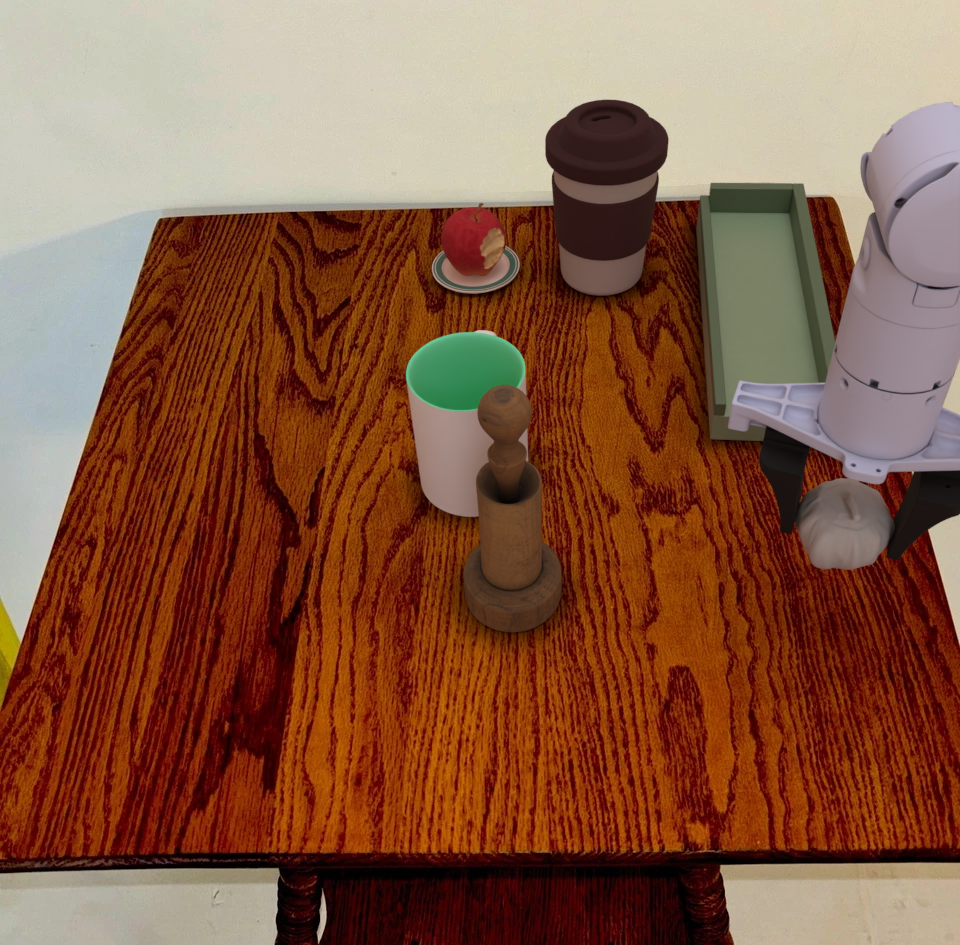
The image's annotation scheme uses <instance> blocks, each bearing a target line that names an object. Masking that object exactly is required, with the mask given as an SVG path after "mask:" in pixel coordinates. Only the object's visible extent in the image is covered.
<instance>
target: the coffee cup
mask: <svg viewBox="0 0 960 945" xmlns="http://www.w3.org/2000/svg"><path fill="white" fill-rule="evenodd" d="M669 141H670V140H669V134H668V132H667V130H666V129H665V127H664V125H662V124H661V123H660V122H659V121H658V120H656V119H655V118H654V117H651V116H650V115H649V113H648V112H647V111H646V110H645V109H644V108H643V107H641V106H639V105H638V104H635V103H633V102H629V101H625V100H619V99H596V100H591V101H587V102H584V103H581V104H579V105H577V106H575V107H573V108H572V109H571V110H570V111H569V112H568V113H567V114H566V115H565V116H563V117H562V118H560V119H558V120H557V121H555V123H553V124H552V125H551V126H550V127H549V129H548V130H547V132H546V135H545V138H544V142H545V143H544V148H545V149H544V150H545V151H544V152H545V160H546V162H547V164H548V166H549V167H550V168H551V170H552V174H551V190H552V201H553V202H552V204H553V216H554V228H555V237H556V240H557V241H558V246H559V247H558V250H559V261H560V272H561V275H562V278H563V280H564V281H565V283H566V284H567V285H568V286H570V287H571V288H572V289H574V290H576V291H578V292H580V293H582V294H587V295H591V296H613V295H617V294H620V293H624V292H626V291H627V290H629V289H631V288H633V287H634V286H635V285H636V284H637V283H638V282H639V280H640V279H641V277H642V273H643V269H644V262H645V256H646V249H647V245H648V243H649V240H650V237H651V233H652V227H653V221H654V214H655V208H656V201H657V197H658V196H657V194H658V188H659V184H660V176H659V170H660V169H662V167H663V166H664V164H665V163H666V160H667V157H668V152H669V151H668V150H669Z"/></svg>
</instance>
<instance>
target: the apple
mask: <svg viewBox="0 0 960 945" xmlns="http://www.w3.org/2000/svg"><path fill="white" fill-rule="evenodd" d="M484 204H485V203H483V202H480V203H478V207H477V206H471V207H464V208H461V209H459V210H456V211H455V212H454V213H452V214H451V215H450V216H449V217H448V218H447V220H446V221H445V223H444V225H443V227H442V230H441V238H440V239H441V248H442V251H441V252H439V253H438V254H437V255H436V256H435V258H434V259H433V262H432V265H431V272H432V276H433V277H434V280H435V281H436V282H437V283H438V284H439V285H441V286H442V287H444V288H445V289H448V290H451V291H453V292H456V293H461V294H483V293H484V294H485V293H489V292H493V291H497V290H498V289H501V288H503V287H505V286H507V285H508V284H510V283H511V282H512V281H513V280H514V279H515V278H516V276H517V275H518V273H519V270H520V259H519V257H518V254H516V252H515V251H514V250H513V249H512V248H510V247H509V246H507V236H506V231H505V230H506V229H505V228H504V225H503V224H502V222H501V220H499V218H498V217H497V216H496V215H495V214H494V213H493V212H492V211H490V210H488V208H487V209H486V208H484V207H483V206H484Z"/></svg>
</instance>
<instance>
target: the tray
mask: <svg viewBox="0 0 960 945" xmlns="http://www.w3.org/2000/svg"><path fill="white" fill-rule="evenodd" d="M709 184H710V186H709V192H708V194H707V195H706V194H704V195H703V194H701V195H699V202H698V211H697V220H696V229H695V231H696V242H697V243H696V244H697V245H696V246H697V259H698V275H699V276H698V277H699V291H700V293H699V294H700V306H701V307H700V309H701V321H702V322H701V323H702V336H703V352H704V368H705V383H706V397H707V398H706V399H707V412H708V427H709V439H710V440H720V441H721V440H722V441H746V442H747V441H749V442H763V439H764V435H765V430H766V428H762V427H758V426H753V425H749V429H748V430H747V431H745V432H743V431H738V430H733V429H729V428H728V422H729V416H730V410H731V404H732V401H733V397H734V394H735V391H736V388H737V385H738V382H739V381H746V382H752V383H762V384H791V383H825V382H826V378H827V374H828V370H829V366H830V362H831V358H832V354H833V350H834V346H835V341H836V338H835V334H834V329H833V324H832V319H831V315H830V310H829V305H828V300H827V295H826V294H827V293H826V290H825V286H824V285H825V284H824V279H823V274H822V268H821V264H820V259H819V255H818V250H817V244H816V240H815V235H814V229H813V224H812V219H811V215H810V209H809V205H808V199H807V194H806V189H805V183H799V182H798V183H795V182H793V183H791V182H787V183H786V182H782V183H781V182H710V183H709Z"/></svg>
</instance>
